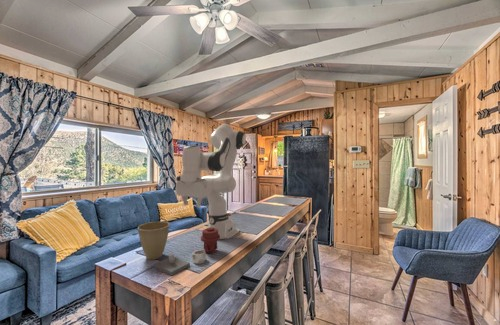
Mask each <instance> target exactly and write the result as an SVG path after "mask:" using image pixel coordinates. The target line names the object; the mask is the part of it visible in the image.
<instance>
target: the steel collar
mask: <svg viewBox="0 0 500 325" xmlns="http://www.w3.org/2000/svg"><path fill="white" fill-rule="evenodd" d="M206 254H207V253H206V252H205V250H204V249H196V250H194V251H192V253H191V259H192V264H197V265H198V264H200V265H201V264H203V263H205V262H206V260H207V259H206V258H207V257H206Z"/></svg>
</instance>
